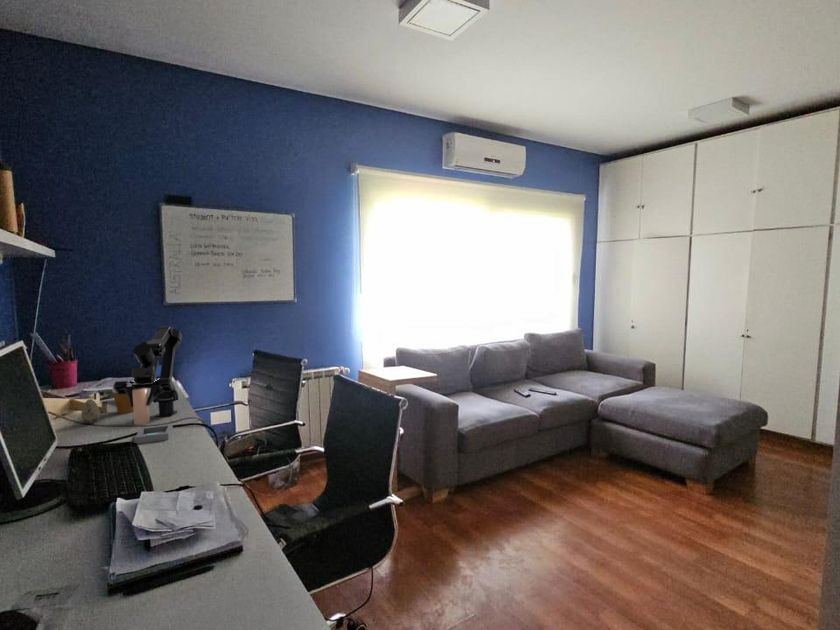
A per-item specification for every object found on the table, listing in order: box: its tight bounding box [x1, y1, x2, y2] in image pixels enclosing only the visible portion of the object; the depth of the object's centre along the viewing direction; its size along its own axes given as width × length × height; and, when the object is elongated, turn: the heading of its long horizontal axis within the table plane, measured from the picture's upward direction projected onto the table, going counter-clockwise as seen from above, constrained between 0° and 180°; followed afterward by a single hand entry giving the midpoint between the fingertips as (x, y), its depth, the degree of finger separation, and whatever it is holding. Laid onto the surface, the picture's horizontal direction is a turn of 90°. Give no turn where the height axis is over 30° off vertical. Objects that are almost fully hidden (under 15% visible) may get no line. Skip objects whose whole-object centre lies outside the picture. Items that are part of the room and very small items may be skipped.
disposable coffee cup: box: [111, 383, 136, 415], centre depth 189 cm, size 10×10×12 cm
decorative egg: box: [81, 399, 101, 424], centre depth 175 cm, size 6×6×10 cm
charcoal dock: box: [134, 423, 174, 444], centre depth 160 cm, size 11×11×3 cm
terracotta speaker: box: [132, 388, 151, 425], centre depth 157 cm, size 5×5×12 cm
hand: (139, 406), depth 156 cm, fingers closed on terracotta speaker, 5 cm apart
